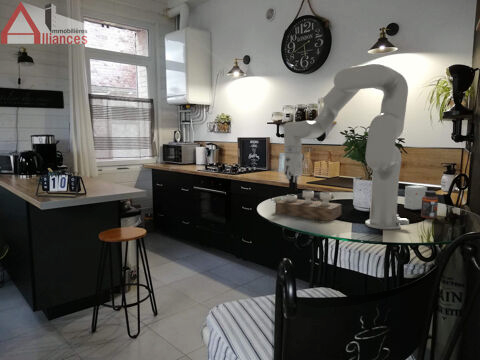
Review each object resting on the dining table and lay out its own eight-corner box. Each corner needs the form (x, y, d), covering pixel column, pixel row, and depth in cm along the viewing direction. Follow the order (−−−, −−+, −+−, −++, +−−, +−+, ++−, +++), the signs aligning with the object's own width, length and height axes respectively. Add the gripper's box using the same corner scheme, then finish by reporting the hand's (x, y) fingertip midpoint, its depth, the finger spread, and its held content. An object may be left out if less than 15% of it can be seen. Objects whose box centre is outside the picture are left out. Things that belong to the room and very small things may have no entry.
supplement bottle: (436, 220, 144) (438, 192, 143) (420, 218, 147) (422, 191, 146) (437, 217, 149) (438, 190, 148) (421, 215, 152) (423, 189, 151)
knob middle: (315, 205, 155) (315, 190, 154) (310, 207, 151) (311, 192, 150) (305, 204, 158) (305, 189, 157) (300, 206, 154) (300, 191, 153)
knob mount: (341, 215, 152) (341, 204, 152) (331, 221, 143) (331, 209, 142) (287, 208, 167) (287, 198, 166) (275, 212, 157) (275, 202, 157)
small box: (416, 206, 171) (418, 185, 170) (426, 208, 166) (427, 186, 165) (403, 207, 169) (404, 185, 167) (412, 209, 163) (414, 187, 162)
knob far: (298, 209, 160) (298, 194, 159) (293, 211, 156) (294, 196, 155) (289, 207, 163) (289, 193, 162) (284, 209, 159) (284, 195, 158)
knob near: (332, 207, 150) (333, 192, 150) (328, 209, 146) (329, 193, 146) (322, 206, 153) (322, 191, 152) (317, 208, 149) (318, 192, 148)
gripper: (293, 150, 147) (293, 193, 149) (307, 149, 160) (307, 189, 162) (277, 150, 152) (277, 192, 154) (292, 149, 164) (293, 188, 166)
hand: (293, 190), depth 158 cm, fingers closed
